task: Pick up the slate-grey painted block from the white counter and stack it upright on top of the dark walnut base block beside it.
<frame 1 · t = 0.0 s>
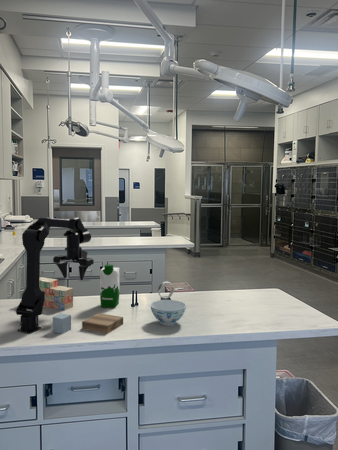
hand: (73, 278, 184), 15 cm above the countertop, tool pointing down, fingers open, 9 cm apart
grey block: (62, 330, 160), on the countertop
watch: (165, 304, 197), on the countertop
walnut base: (103, 326, 165), on the countertop
stack of blocks: (51, 305, 193), on the countertop
chinaware: (167, 323, 171), on the countertop
milk carton: (109, 305, 194), on the countertop
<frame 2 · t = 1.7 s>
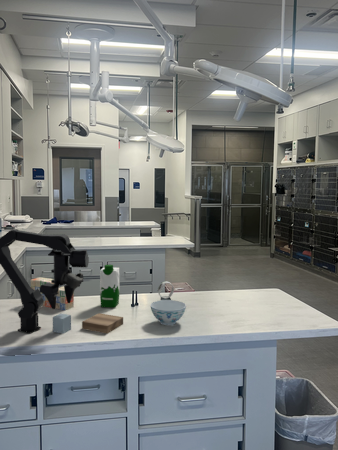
hand: (61, 305, 159), 10 cm above the countertop, tool pointing down, fingers open, 9 cm apart
nothing on the countertop moved.
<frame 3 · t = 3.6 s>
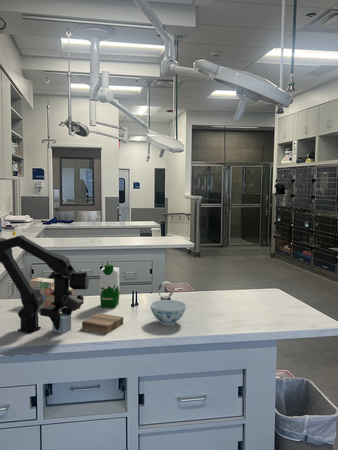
hand: (62, 327, 159), 1 cm above the countertop, tool pointing down, fingers closed on grey block, 5 cm apart
grey block: (62, 330, 160), on the countertop, touching gripper
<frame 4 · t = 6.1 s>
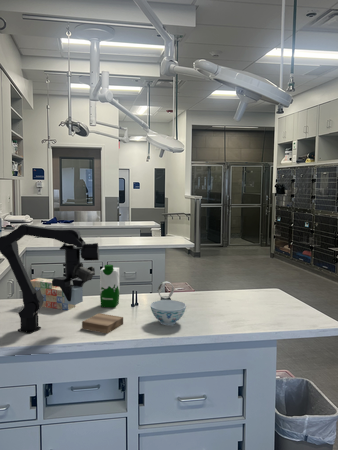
hand: (73, 299, 160), 12 cm above the countertop, tool pointing down, fingers closed on grey block, 5 cm apart
grey block: (73, 302, 160), point 11 cm above the countertop, touching gripper
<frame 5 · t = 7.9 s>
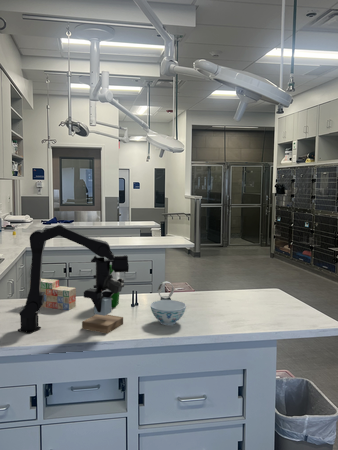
hand: (102, 310, 164), 7 cm above the countertop, tool pointing down, fingers closed on grey block, 5 cm apart
grey block: (102, 313, 164), point 6 cm above the countertop, touching gripper
when the fingers open (6 cm above the countertop, at t = 8.9 s): grey block drops 1 cm, resting on walnut base.
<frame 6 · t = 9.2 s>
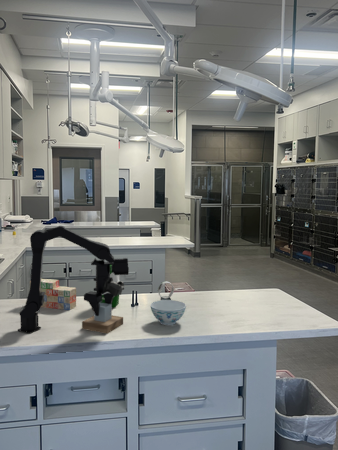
hand: (102, 312, 164), 6 cm above the countertop, tool pointing down, fingers open, 8 cm apart
grey block: (103, 319, 165), point 3 cm above the countertop, touching walnut base
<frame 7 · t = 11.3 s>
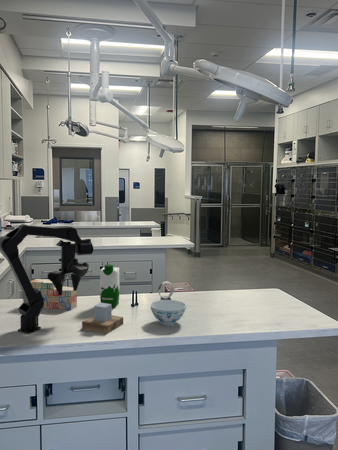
hand: (67, 293, 169), 12 cm above the countertop, tool pointing down, fingers open, 9 cm apart
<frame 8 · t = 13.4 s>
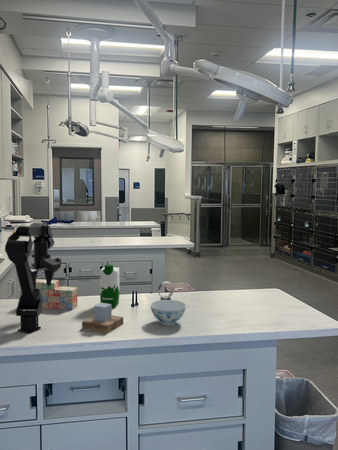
hand: (41, 288, 174), 13 cm above the countertop, tool pointing down, fingers open, 9 cm apart
at the end: grey block inside the target area on the walnut base (0.0 cm from its centre), point 3.0 cm above the walnut base's base; grey block tilted 0°; the gripper is holding nothing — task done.
